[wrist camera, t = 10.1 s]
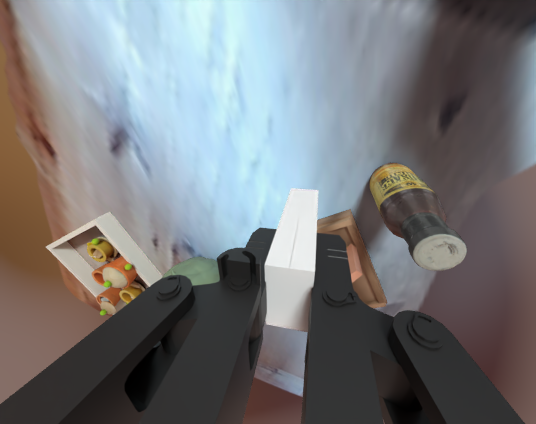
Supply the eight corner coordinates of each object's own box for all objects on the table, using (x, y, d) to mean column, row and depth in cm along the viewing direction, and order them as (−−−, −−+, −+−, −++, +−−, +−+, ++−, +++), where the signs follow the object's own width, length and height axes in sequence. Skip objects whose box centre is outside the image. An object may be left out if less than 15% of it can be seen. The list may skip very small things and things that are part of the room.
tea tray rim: (109, 211, 53) (94, 219, 50) (188, 307, 64) (180, 319, 60) (61, 238, 62) (45, 246, 58) (137, 318, 72) (127, 329, 69)
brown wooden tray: (350, 209, 40) (352, 216, 37) (384, 295, 47) (388, 307, 44) (249, 242, 48) (245, 250, 45) (291, 311, 55) (289, 321, 52)
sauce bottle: (412, 158, 34) (505, 220, 17) (407, 196, 36) (483, 282, 19) (366, 162, 36) (408, 222, 18) (364, 198, 38) (400, 279, 21)
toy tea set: (93, 228, 57) (54, 251, 48) (147, 247, 56) (116, 274, 47) (107, 294, 70) (77, 320, 61) (151, 311, 68) (127, 340, 60)
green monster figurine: (189, 290, 60) (135, 367, 43) (179, 232, 51) (106, 300, 34) (244, 302, 57) (210, 390, 40) (243, 243, 49) (199, 323, 31)
